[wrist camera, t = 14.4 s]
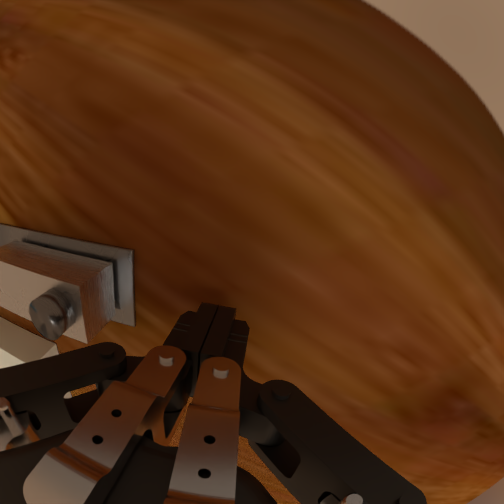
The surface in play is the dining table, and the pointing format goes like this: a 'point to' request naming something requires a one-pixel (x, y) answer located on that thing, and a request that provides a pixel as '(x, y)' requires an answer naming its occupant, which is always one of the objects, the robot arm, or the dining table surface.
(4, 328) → the socket
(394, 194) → the dining table surface
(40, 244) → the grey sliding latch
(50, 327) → the bolt
